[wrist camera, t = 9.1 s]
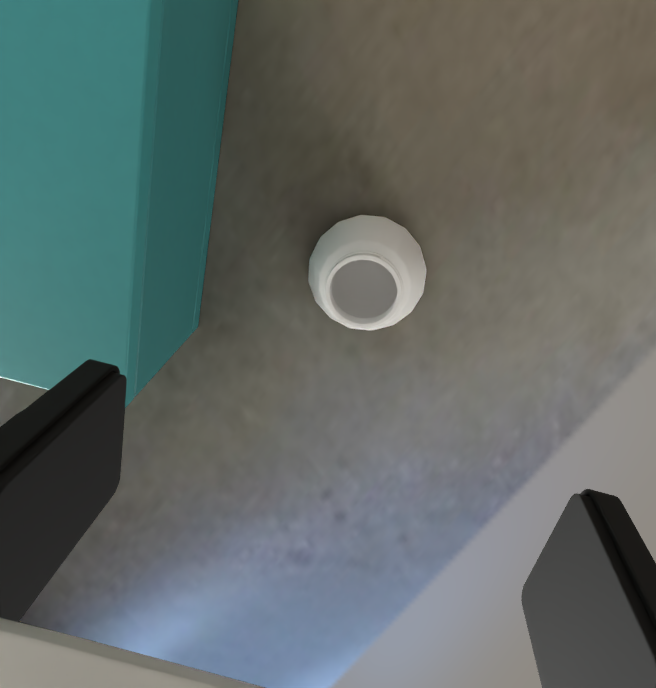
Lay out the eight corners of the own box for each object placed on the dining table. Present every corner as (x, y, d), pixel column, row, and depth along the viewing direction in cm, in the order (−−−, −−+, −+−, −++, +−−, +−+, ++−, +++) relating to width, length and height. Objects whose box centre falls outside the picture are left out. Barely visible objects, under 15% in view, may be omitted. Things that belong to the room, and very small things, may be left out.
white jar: (389, 341, 25) (446, 248, 23) (388, 370, 22) (452, 267, 20) (293, 292, 24) (342, 192, 22) (280, 315, 22) (334, 204, 20)
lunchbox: (-64, -136, 19) (-280, -245, 13) (246, -61, 19) (173, -138, 13) (-32, 269, 26) (-165, 320, 20) (198, 327, 26) (135, 398, 20)
